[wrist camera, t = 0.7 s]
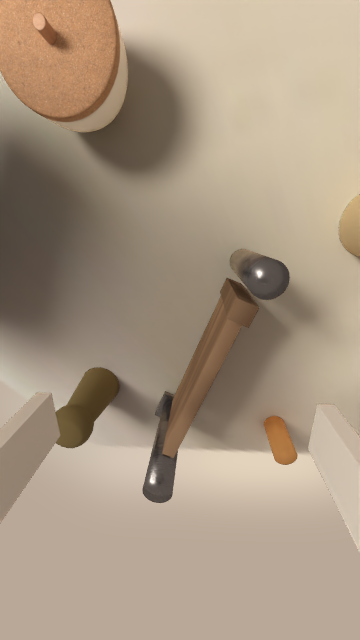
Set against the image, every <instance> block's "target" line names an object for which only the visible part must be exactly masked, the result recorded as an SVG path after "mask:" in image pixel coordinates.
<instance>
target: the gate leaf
mask: <svg viewBox="0 0 360 640" xmlns="http://www.w3.org/2000/svg"><path fill="white" fill-rule="evenodd" d="M220 293H221V297H220V299H219V301H218V304H217V306H216V308H215V310H214V312H213V314H212V316H211V319H210V321H209V323H208V325H207V327H206V329H205V331H204V334H203V336H202V338H201V340H200V342H199V344H198V346H197V349H196V351H195V353H194V355H193V357H192V359H191V362H190V364H189V366H188V368H187V370H186V372H185V374H184V377H183V379H182V381H181V383H180V385H179V387H178V389H177V392H176V394H175V396H174V398H173V401H172V406H171V411H170V416H169V421H168V427H167V432H166V437H165V442H164V447H163V452H162V454H165V455H167V456H170V457H172V458H174V456H175V454H176V452H177V450H178V448H179V446H180V444H181V443H182V441H183V439H184V437H185V435H186V433H187V431H188V429H189V427H190V425H191V423H192V421H193V419H194V418H195V416H196V414H197V412H198V410H199V408H200V406H201V404H202V402H203V400H204V398H205V396H206V394H207V393H208V391H209V389H210V387H211V385H212V383H213V381H214V379H215V377H216V375H217V373H218V371H219V369H220V368H221V366H222V364H223V362H224V360H225V358H226V356H227V354H228V352H229V350H230V348H231V346H232V344H233V342H234V341H235V339H236V337H237V335H238V333H239V331H240V329H241V327H242V325H243V326H245V327H248V328H249V326H250V324H251V322H252V320H253V319H254V317H255V315H256V313H257V311H258V309H259V307H258V305H257V304H256V303H255V301H254V300H253V299H252V297H251V296H250V295H249V293H248V292H247V291H246V289H245V288H244V287H243V285H242V284H241V283H238V282H236V281H233V280H231V279H229V278H227V279H226V281H225V283H224V285H223V287H222V289H221V292H220Z"/></svg>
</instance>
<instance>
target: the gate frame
mask: <svg viewBox="0 0 360 640" xmlns="http://www.w3.org/2000/svg"><path fill="white" fill-rule="evenodd" d="M230 266H231V268H232V269H233V270H234V272H235V273H236V274H237V275H238V277H239V278H240V279H241V280H242V281H243V283H244V284H245V285H246V286H247V288H248V289H249V290H250V291H251V293H252V294H253V295H254V296H256V297H258V298H260V299H264V300H269V299H274V298H276V297H278V296H280V295H281V294H282V293H283V292H284V291H285V290H286V288H287V286H288V284H289V278H290V277H289V271H288V269H287V267H286V266H285V265H284V264H283V263H282V262H280V261H278V260H275V259H272V258H269V257H266V256H263V255H261V254H258V253H255V252H252V251H249V250H246V249H239V250H237V251H235V252H234V253H233V254H232V256H231V258H230ZM174 396H175V395H173V394H171V393H168V392H166V391H165V392H164V395H163V397H162V399H161V401H160V404H159V406H158V408H157V410H156V413H155V415H157V416H159V417H160V420H159V424H158V428H157V433H156V437H155V441H154V445H153V449H152V453H151V457H150V461H149V466H148V469H147V474H146V478H145V482H144V486H143V494H144V496H145V497H146V498H147V499H148V500H150V501H152V502H156V503H163V502H166V501H168V500H169V499H171V497H172V493H173V492H172V491H173V485H174V476H175V468H176V460H177V453H178V450H177V452H176V454H175V456H174V458H172V457H170V456H167V455H165V454H162V452H163V447H164V442H165V437H166V432H167V427H168V421H169V416H170V411H171V406H172V401H173V398H174Z"/></svg>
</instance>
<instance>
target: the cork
mask: <svg viewBox="0 0 360 640" xmlns="http://www.w3.org/2000/svg"><path fill="white" fill-rule="evenodd" d="M118 392H119V381H118V379H117V378H116V376H115V375H114V374H113V373H112V372H111V371H109V370H107V369H104V368H92V369H89V370H88V371H87V372H86V373H85V374H84V376H83V378H82V380H81V381H80V383H79V385H78V387H77V388H76V390H75V392H74V393H73V395H72V397H71V399H70V400H69V402H68V404H67V405H66V406H64V407H62V408H61V409H59V410H58V411H57V412H56V417H57V422H58V427H59V432H60V437H59V438H58V440H57V441H56V443H57V444H58V445H61V446H62V447H66V448H75V447H78V446H80V445H82V444H83V443H85V442H86V441H87V440H88V438H89V437H90V435H91V433H92V431H93V426H94V421H95V420H96V419H97V418H98V417H99V415H100V414H101V413H102V412H103V411H104V409H105V408H106V407H107V406H108V405H109V403H110V402H111V401H112V400H113V399H114V397H115V396H116V395H117V393H118Z"/></svg>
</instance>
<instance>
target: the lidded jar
mask: <svg viewBox="0 0 360 640" xmlns="http://www.w3.org/2000/svg"><path fill="white" fill-rule="evenodd" d="M0 71H1V73H2V75H3V77H4V79H5V81H6V82H7V84H8V86H9V87H10V88H11V90H12V91H13V92H14V94H15V95H16V96H17V97H18V98H19V99H20V100H21V101H22V102H23V103H24V104H25V105H27V106H28V107H29V108H30V109H32V110H33V111H34V112H36V113H38V114H39V115H41V116H43V117H45V118H47V119H48V120H50V121H51V122H53V123H55V124H57V125H59V126H61V127H63V128H66V129H69V130H72V131H76V132H92V131H96V130H99V129H102V128H104V127H105V126H107V125H108V124H110V123H111V122H112V121H113V120H114V119H115V117H116V116H117V114H118V113H119V111H120V109H121V107H122V105H123V102H124V99H125V96H126V91H127V85H128V65H127V57H126V51H125V46H124V42H123V38H122V35H121V32H120V29H119V26H118V23H117V19H116V16H115V13H114V10H113V6H112V4H111V1H110V0H0Z"/></svg>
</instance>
